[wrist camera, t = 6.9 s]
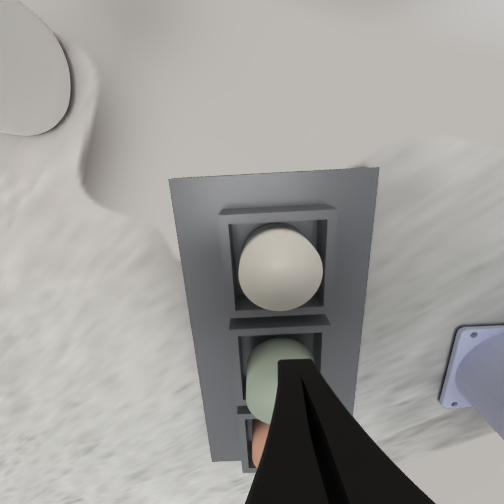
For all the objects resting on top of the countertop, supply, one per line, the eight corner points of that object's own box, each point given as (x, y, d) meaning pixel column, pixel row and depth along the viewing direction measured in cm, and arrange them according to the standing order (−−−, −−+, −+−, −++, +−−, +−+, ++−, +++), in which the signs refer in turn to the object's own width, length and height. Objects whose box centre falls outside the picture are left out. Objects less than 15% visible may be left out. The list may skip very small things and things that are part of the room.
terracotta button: (307, 401, 19) (315, 433, 16) (306, 441, 20) (313, 476, 18) (250, 404, 19) (250, 436, 17) (253, 443, 20) (253, 478, 18)
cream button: (312, 221, 14) (324, 231, 12) (310, 289, 16) (321, 309, 13) (237, 225, 14) (235, 235, 12) (242, 292, 16) (241, 312, 13)
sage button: (314, 336, 15) (326, 365, 13) (312, 390, 17) (322, 424, 14) (244, 339, 15) (243, 368, 13) (248, 392, 17) (248, 427, 14)
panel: (367, 167, 15) (399, 166, 12) (342, 438, 23) (357, 484, 20) (176, 178, 15) (155, 180, 12) (214, 443, 23) (208, 489, 20)
